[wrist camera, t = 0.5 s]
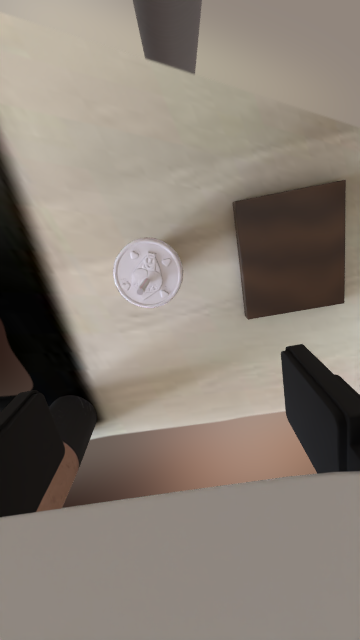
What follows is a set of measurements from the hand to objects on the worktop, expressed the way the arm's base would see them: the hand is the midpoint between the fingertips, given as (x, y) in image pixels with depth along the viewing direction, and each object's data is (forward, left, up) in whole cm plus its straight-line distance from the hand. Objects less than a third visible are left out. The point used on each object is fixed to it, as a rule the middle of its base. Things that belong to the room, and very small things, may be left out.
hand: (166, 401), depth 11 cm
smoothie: (-3, -2, -26) cm, 26 cm away
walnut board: (-1, +14, -26) cm, 29 cm away
